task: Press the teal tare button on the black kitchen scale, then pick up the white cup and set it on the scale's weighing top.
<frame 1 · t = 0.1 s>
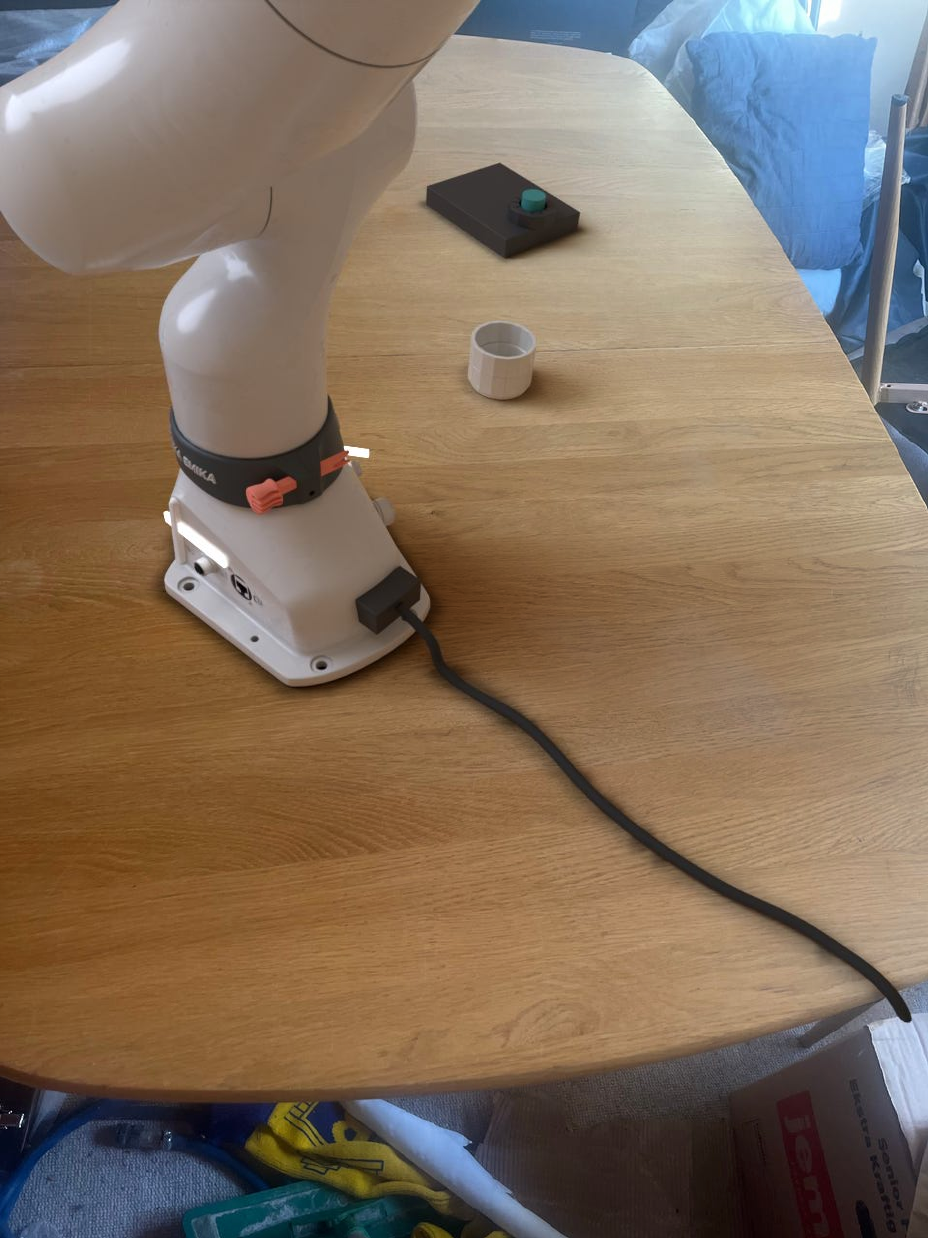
white cup: (499, 381, 98), on the table
tare button: (533, 201, 113), point 4 cm above the table, slide at 0.1 cm
scale: (501, 217, 119), on the table
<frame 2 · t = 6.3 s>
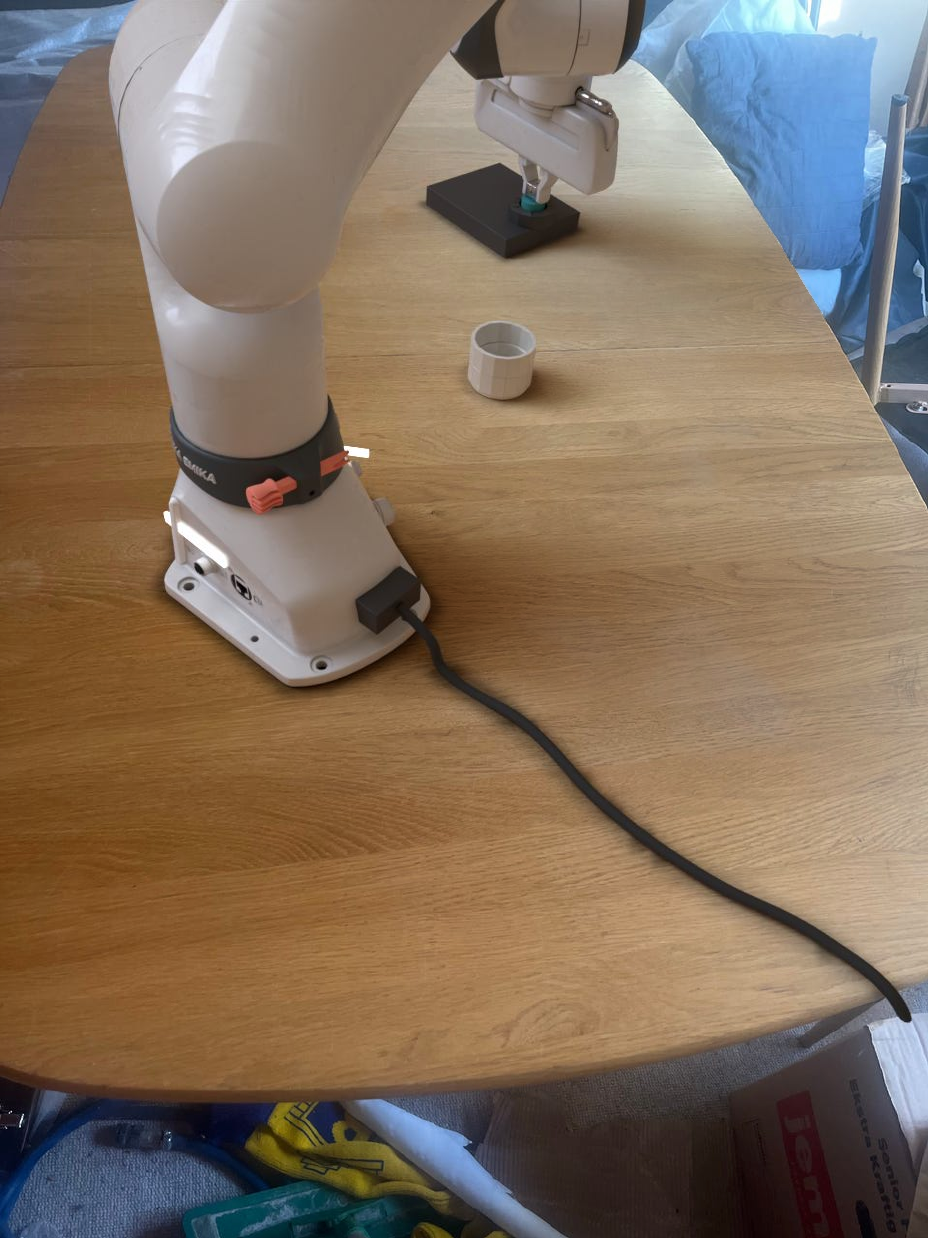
hand: (535, 198, 113), 5 cm above the table, tool pointing down, fingers closed, pressing on tare button
tare button: (533, 204, 114), point 4 cm above the table, slide at -0.4 cm, touching gripper
everything else where it was.
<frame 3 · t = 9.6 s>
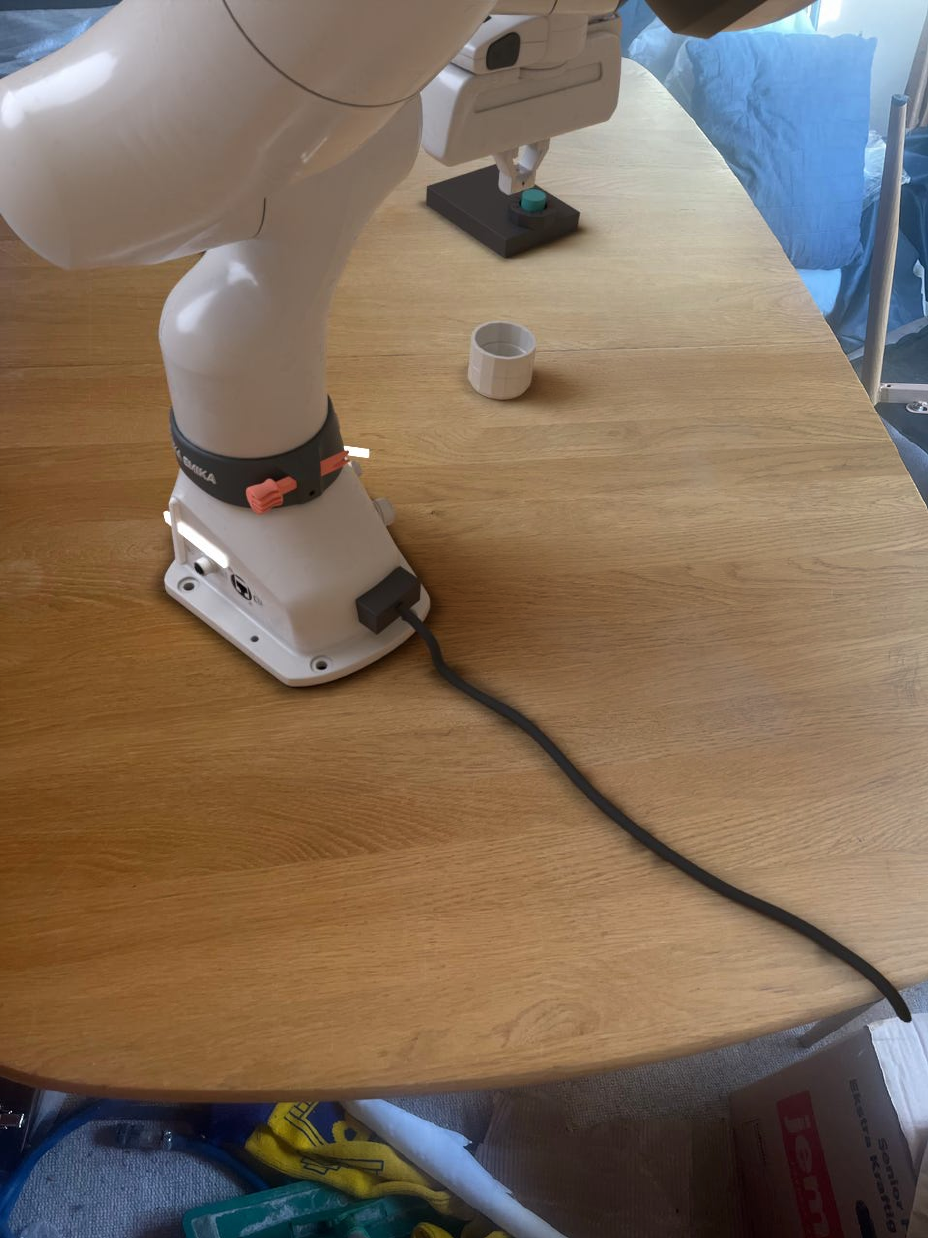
hand: (516, 188, 88), 17 cm above the table, tool pointing down, fingers closed
tare button: (533, 201, 113), point 4 cm above the table, slide at 0.1 cm
everything else where it was.
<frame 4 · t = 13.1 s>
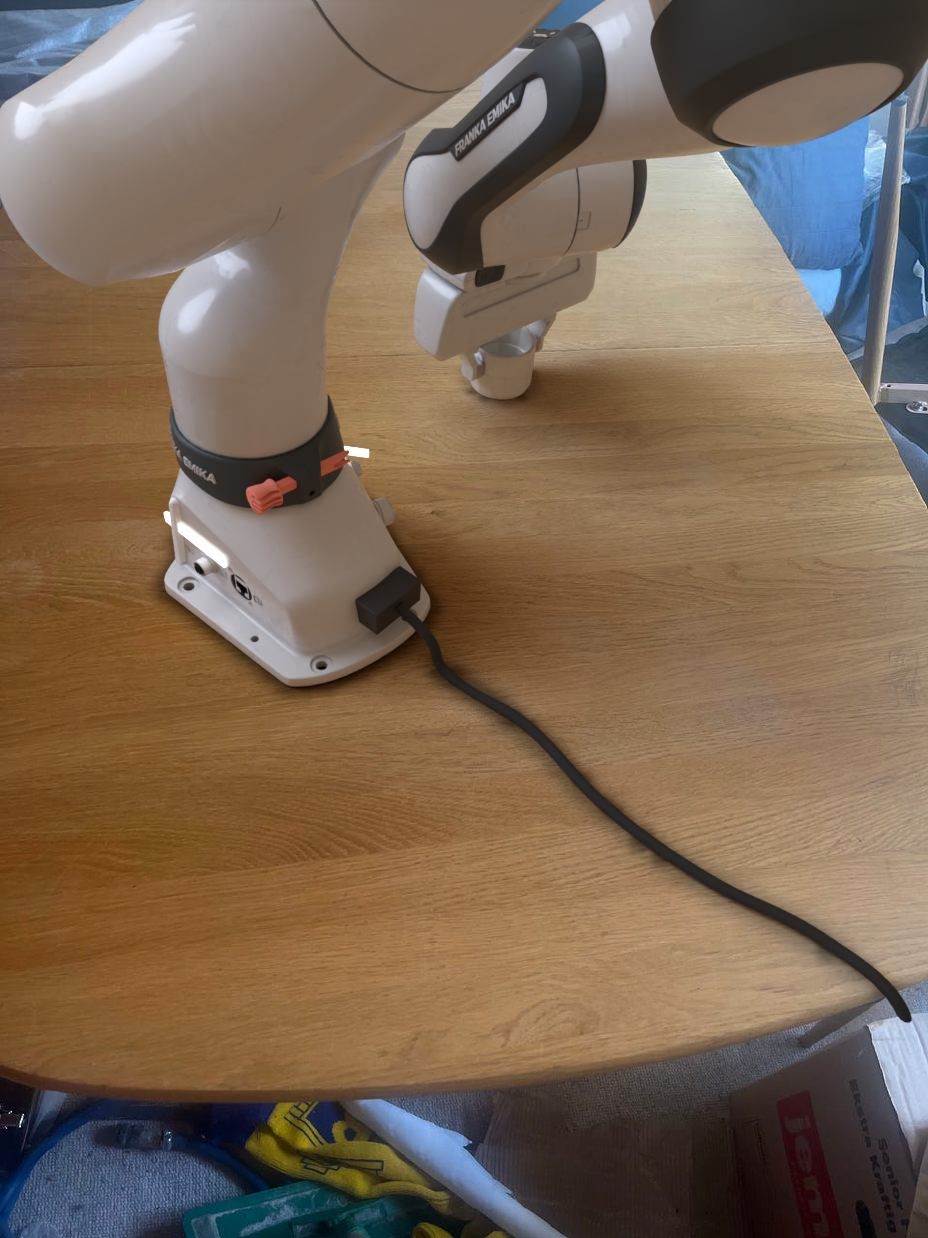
hand: (501, 362, 96), 2 cm above the table, tool pointing down, fingers closed on white cup, 6 cm apart
white cup: (498, 381, 98), on the table, touching gripper
everything else where it was.
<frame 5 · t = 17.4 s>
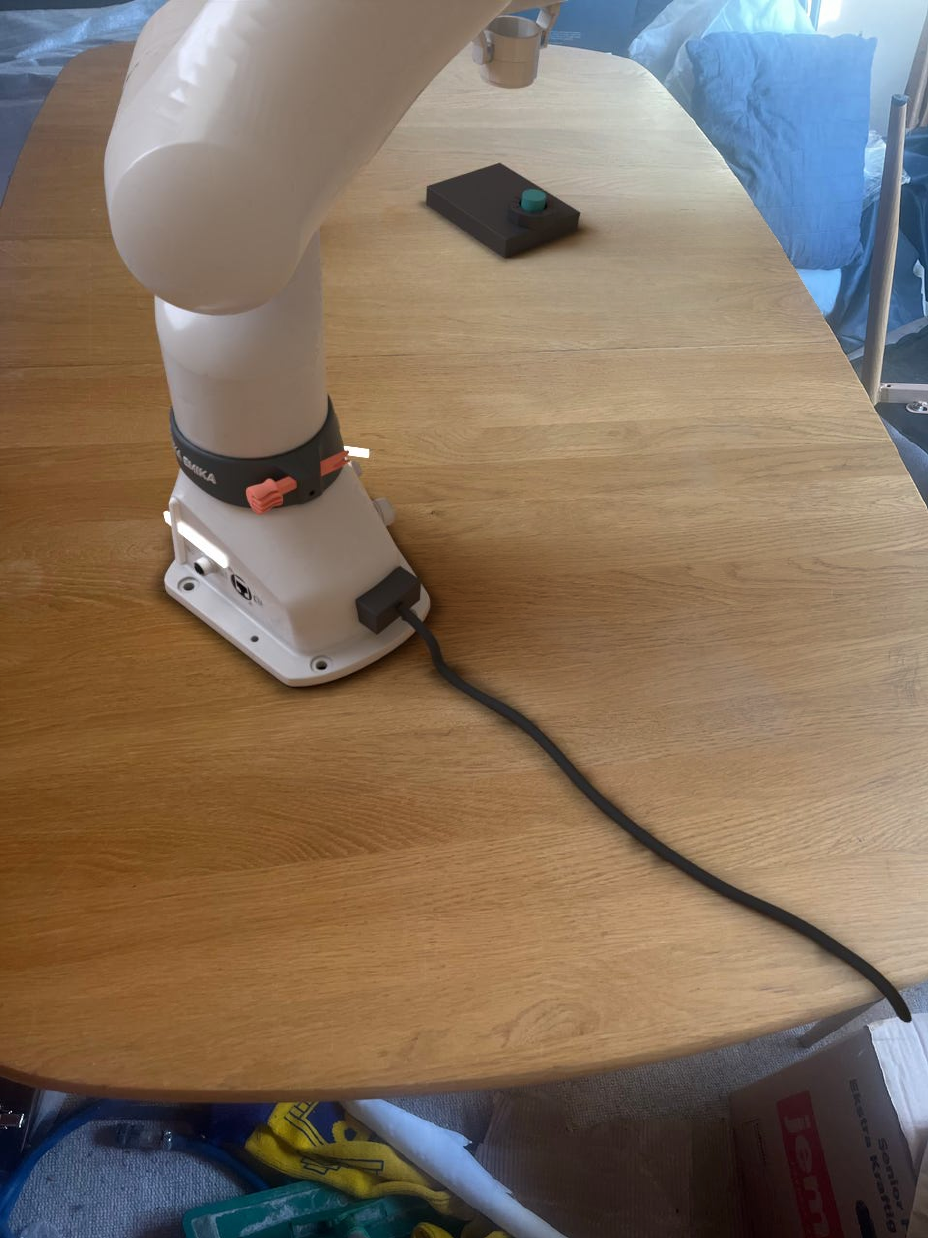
hand: (509, 54, 103), 19 cm above the table, tool pointing down, fingers closed on white cup, 6 cm apart
white cup: (507, 77, 105), point 17 cm above the table, touching gripper
everything else where it was.
when the fingers open (5 cm above the table, at t = 21.7 s): white cup stays where it is, resting on scale.
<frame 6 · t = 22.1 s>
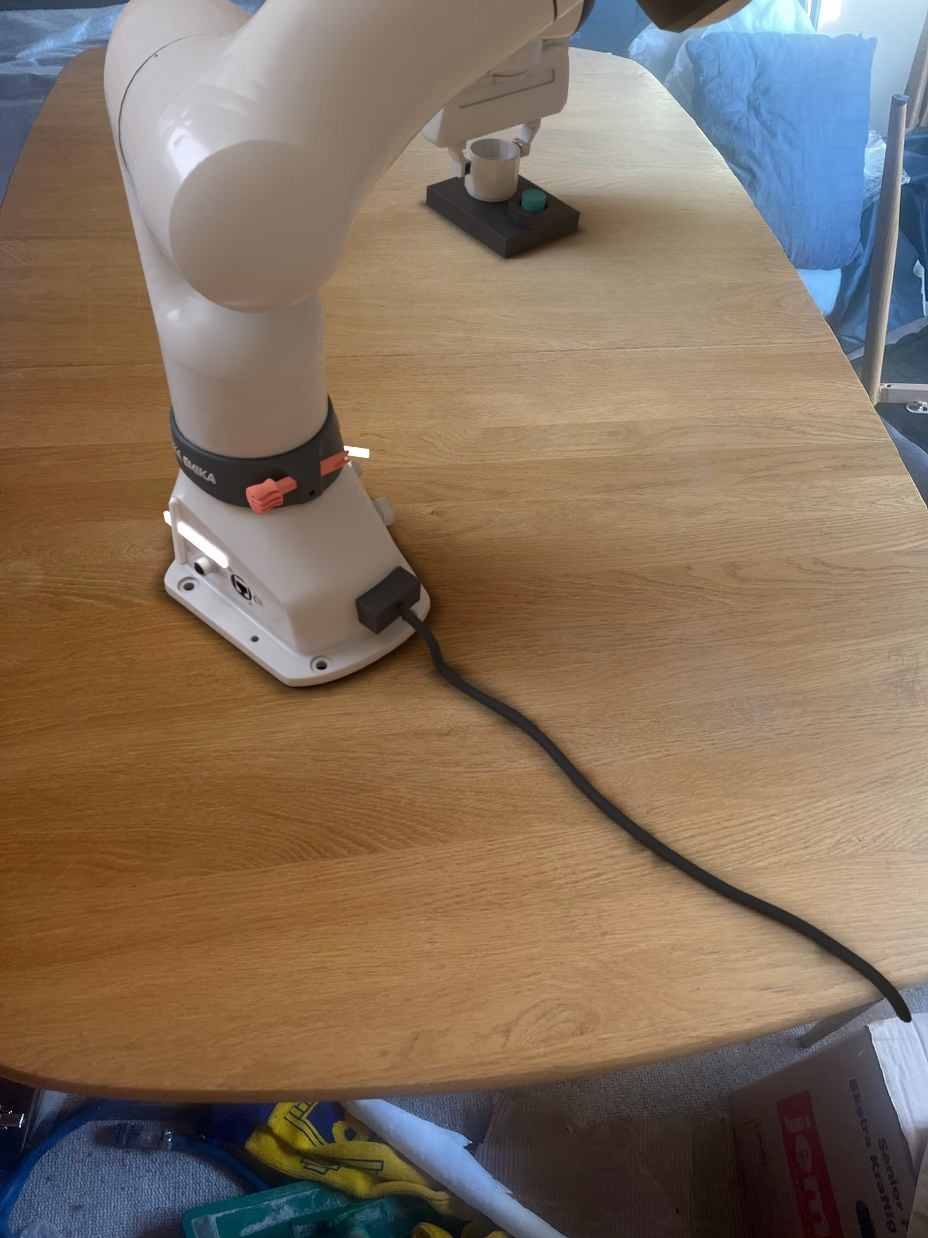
hand: (491, 164, 116), 6 cm above the table, tool pointing down, fingers open, 8 cm apart
white cup: (490, 189, 118), point 2 cm above the table, touching scale
everything else where it was.
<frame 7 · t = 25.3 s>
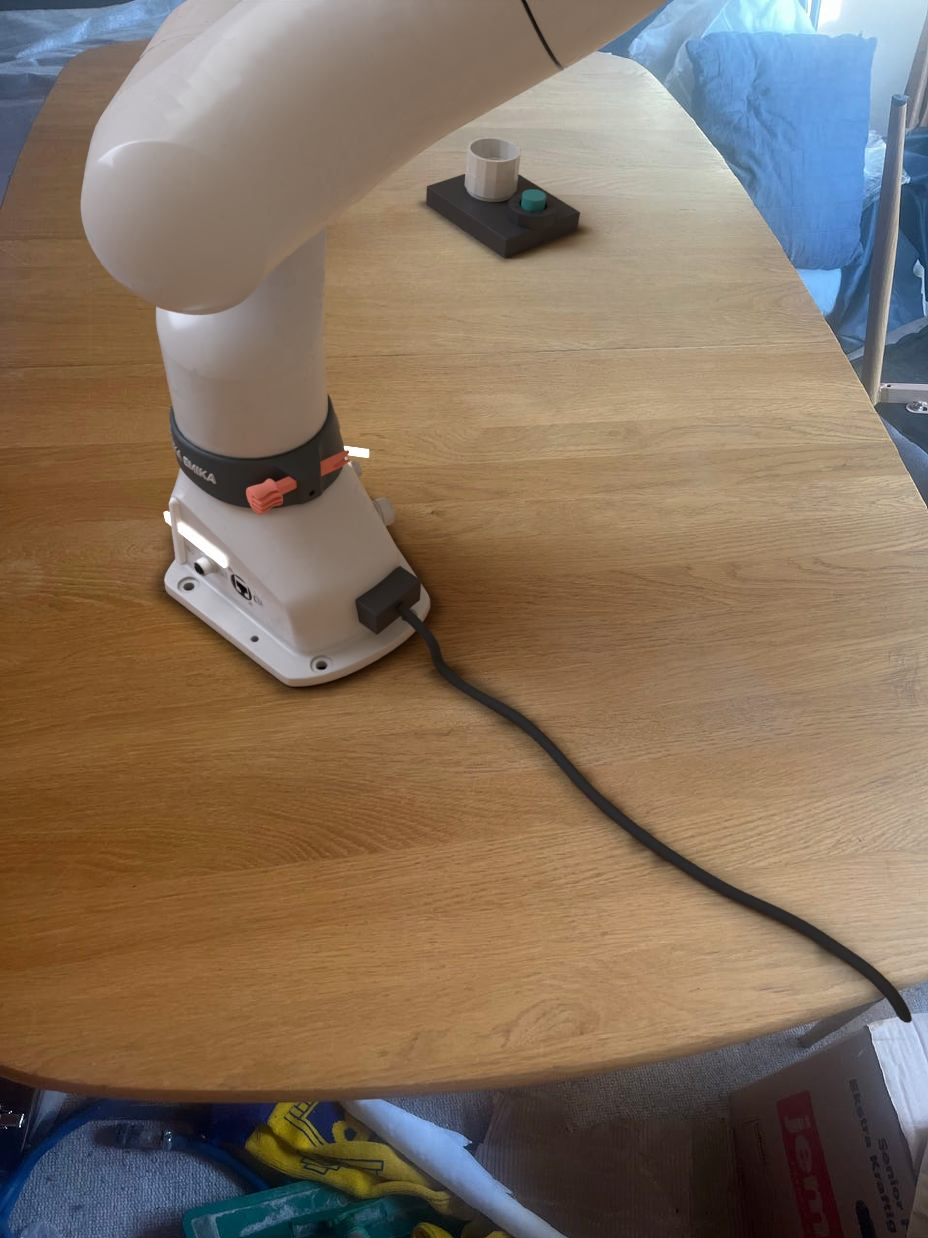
nothing on the table moved.
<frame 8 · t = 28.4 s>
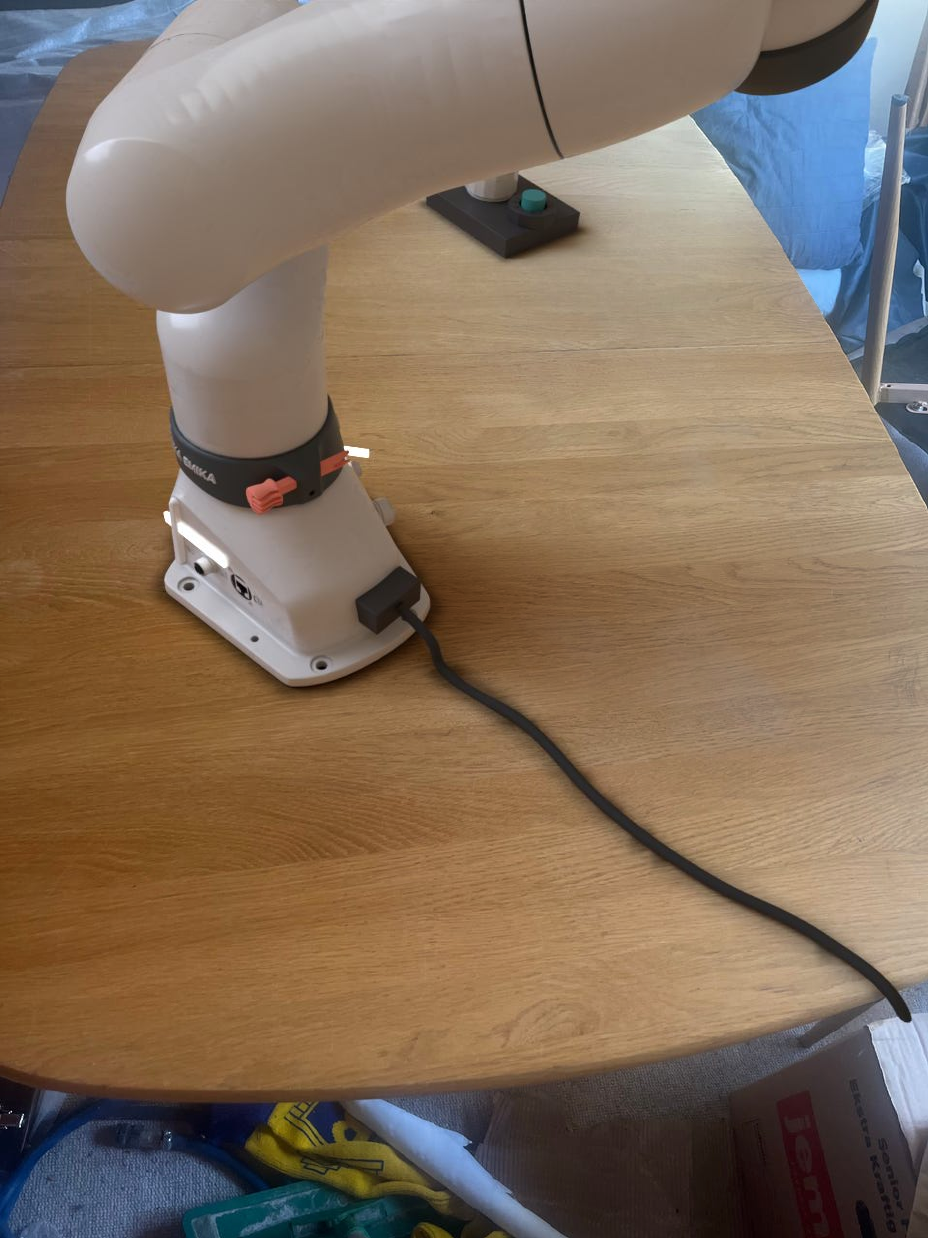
nothing on the table moved.
at the end: tare button pushed in 0.9 cm at the most during the clip, back to where it started at the end; white cup 0.1 cm from the target spot on the scale, point 2.4 cm above the scale's base; white cup tilted 0° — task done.
